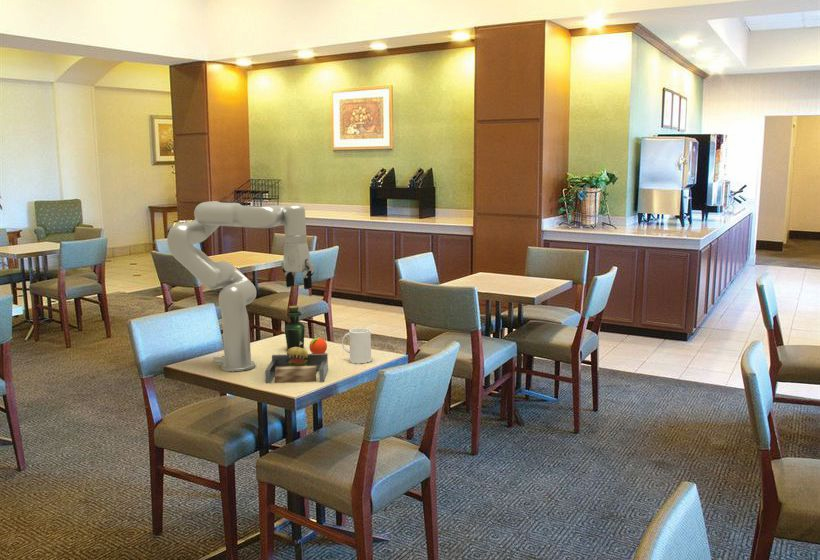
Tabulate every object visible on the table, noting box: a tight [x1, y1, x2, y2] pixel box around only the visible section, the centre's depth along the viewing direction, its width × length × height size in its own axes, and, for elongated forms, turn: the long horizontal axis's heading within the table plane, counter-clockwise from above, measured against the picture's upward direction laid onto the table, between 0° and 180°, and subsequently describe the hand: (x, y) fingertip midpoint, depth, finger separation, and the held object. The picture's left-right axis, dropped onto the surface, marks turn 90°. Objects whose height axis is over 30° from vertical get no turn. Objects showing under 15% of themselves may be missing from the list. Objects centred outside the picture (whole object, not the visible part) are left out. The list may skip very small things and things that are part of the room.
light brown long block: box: [273, 366, 318, 384], centre depth 241 cm, size 14×3×5 cm, turn 92°
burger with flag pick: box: [286, 342, 309, 366], centre depth 247 cm, size 8×7×12 cm
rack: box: [264, 353, 329, 384], centre depth 247 cm, size 20×15×6 cm
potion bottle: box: [284, 305, 305, 351], centre depth 282 cm, size 8×8×18 cm
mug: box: [341, 327, 373, 365], centre depth 265 cm, size 12×8×12 cm
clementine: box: [308, 337, 328, 354], centre depth 274 cm, size 8×7×7 cm
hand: (299, 287), depth 250 cm, fingers open, 9 cm apart
